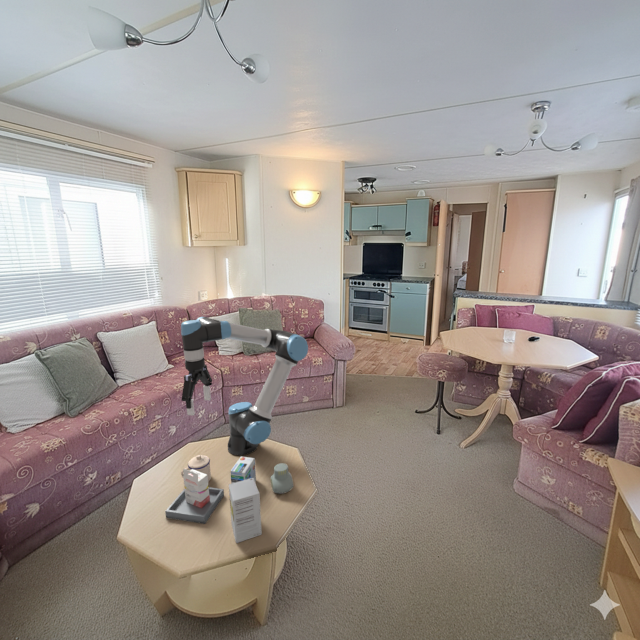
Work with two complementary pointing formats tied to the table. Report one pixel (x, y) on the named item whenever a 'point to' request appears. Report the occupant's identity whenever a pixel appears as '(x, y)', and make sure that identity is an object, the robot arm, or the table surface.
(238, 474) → the light bulb box
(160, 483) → the table surface
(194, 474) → the ink cartridge box
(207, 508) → the tray
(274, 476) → the air freshener
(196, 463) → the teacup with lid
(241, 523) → the supplement box
